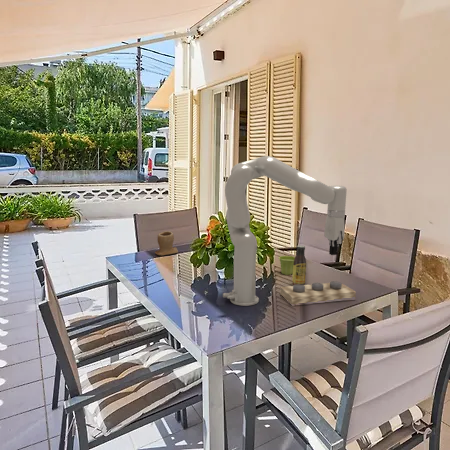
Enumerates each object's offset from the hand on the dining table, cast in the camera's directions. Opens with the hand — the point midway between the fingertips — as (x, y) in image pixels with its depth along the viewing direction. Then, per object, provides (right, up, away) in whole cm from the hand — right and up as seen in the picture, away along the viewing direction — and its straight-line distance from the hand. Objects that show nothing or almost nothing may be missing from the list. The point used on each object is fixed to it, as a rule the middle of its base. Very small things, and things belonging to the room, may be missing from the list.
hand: (333, 254), depth 181 cm
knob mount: (-7, -20, +2) cm, 21 cm away
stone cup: (-85, -6, +80) cm, 117 cm away
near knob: (-16, -20, 0) cm, 26 cm away
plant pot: (-15, -13, +38) cm, 43 cm away
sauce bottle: (-12, -17, +19) cm, 28 cm away
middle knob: (-7, -20, +2) cm, 21 cm away
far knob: (+2, -19, +4) cm, 20 cm away
